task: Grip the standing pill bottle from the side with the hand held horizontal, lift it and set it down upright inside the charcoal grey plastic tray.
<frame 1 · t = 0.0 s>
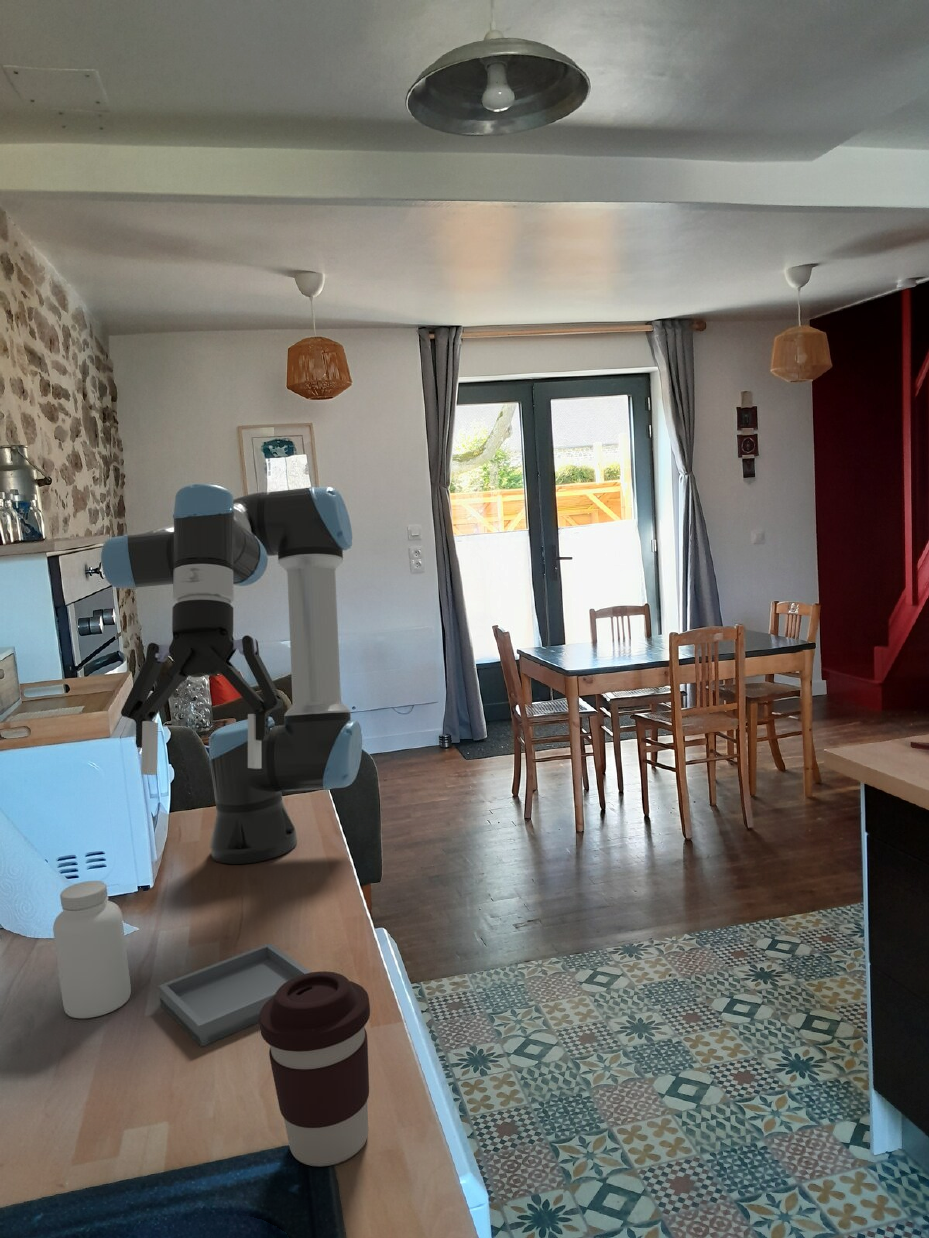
hand: (201, 771, 114), 28 cm above the kitchen counter, tool tilted 20°, fingers open, 13 cm apart
pill bottle: (99, 1004, 116), on the kitchen counter
tray: (239, 1000, 113), on the kitchen counter
coffee cup: (330, 1143, 86), on the kitchen counter
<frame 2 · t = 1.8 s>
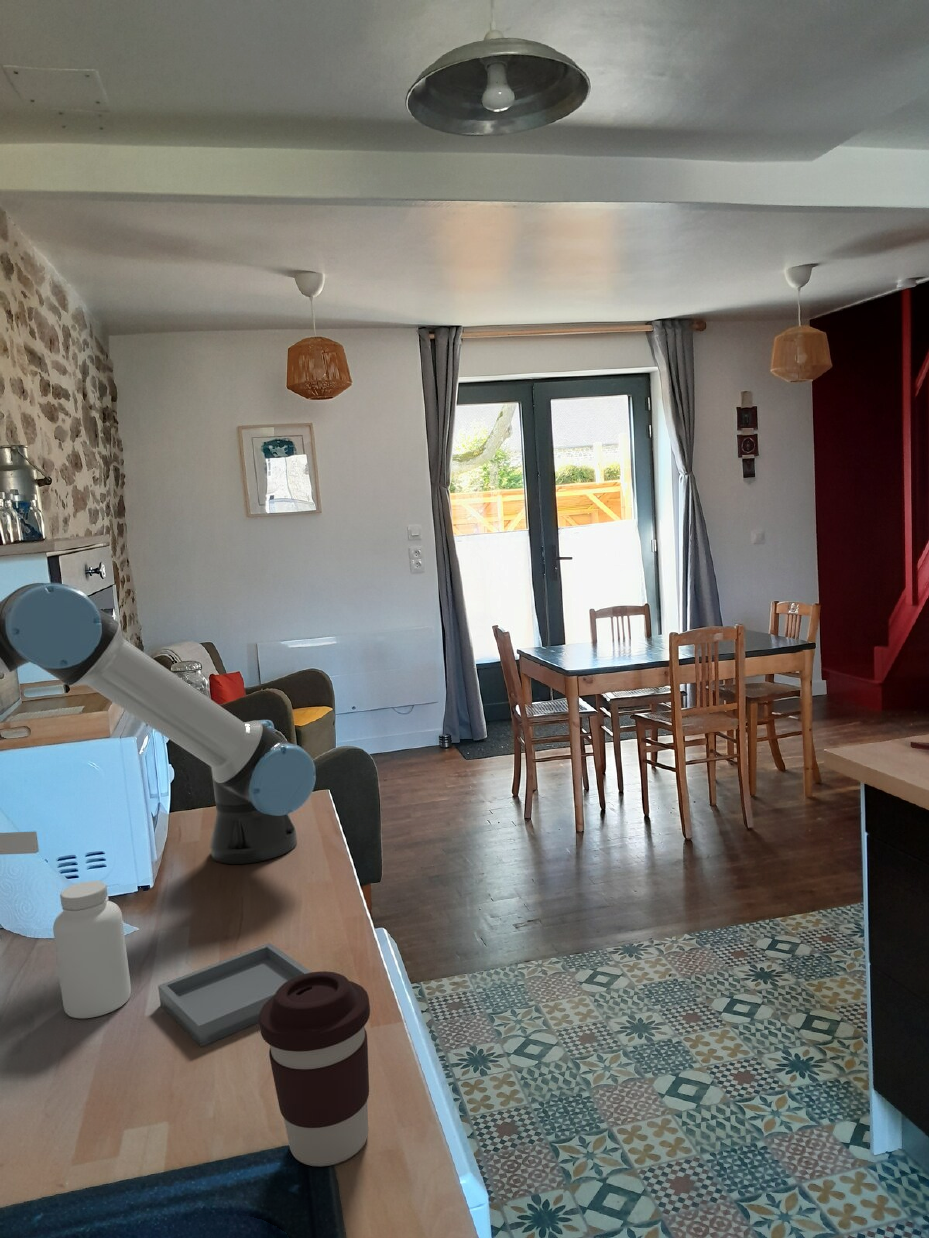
hand: (4, 861, 115), 19 cm above the kitchen counter, tool horizontal, fingers open, 13 cm apart
nothing on the kitchen counter moved.
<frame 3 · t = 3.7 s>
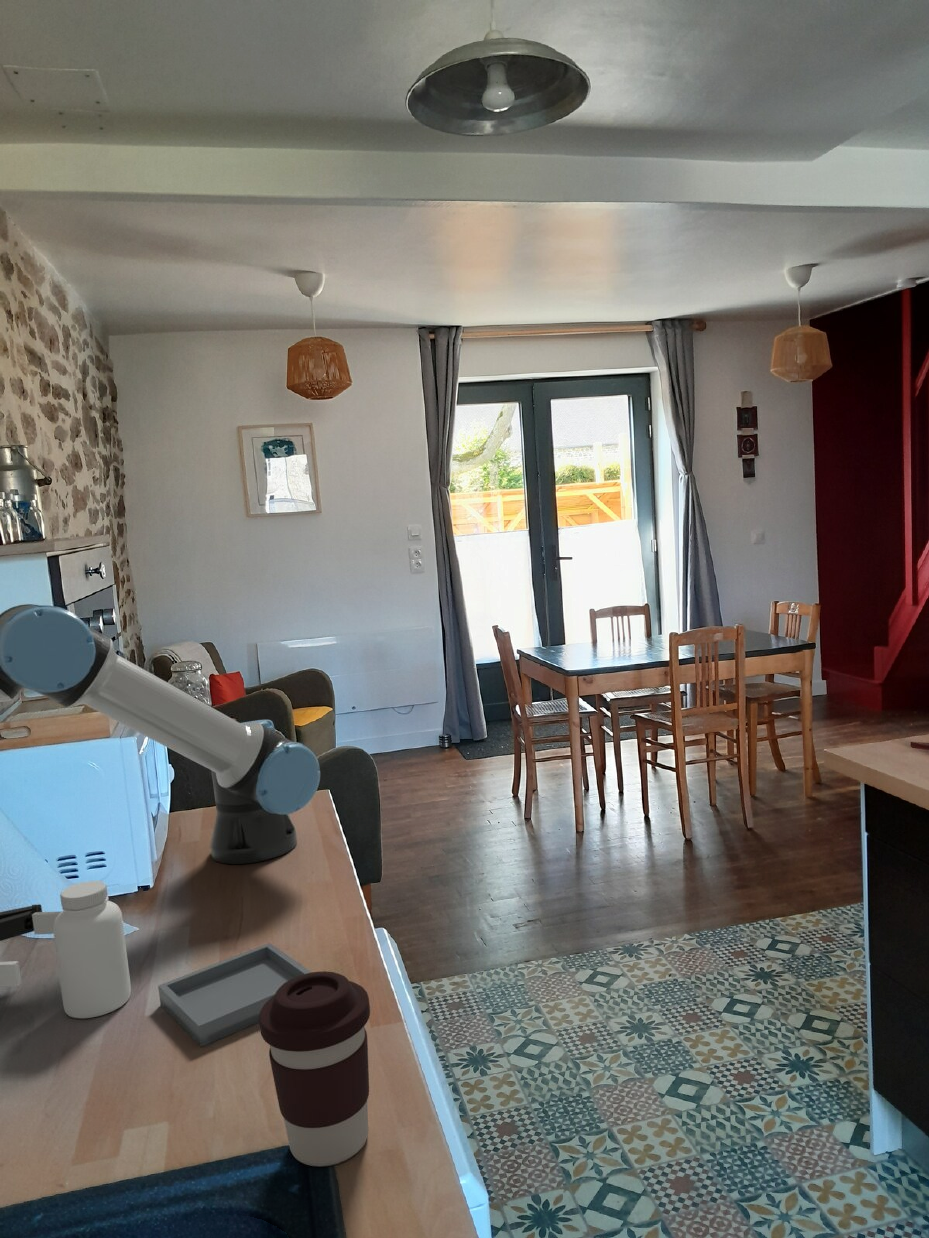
hand: (51, 946, 115), 8 cm above the kitchen counter, tool horizontal, fingers open, 13 cm apart
nothing on the kitchen counter moved.
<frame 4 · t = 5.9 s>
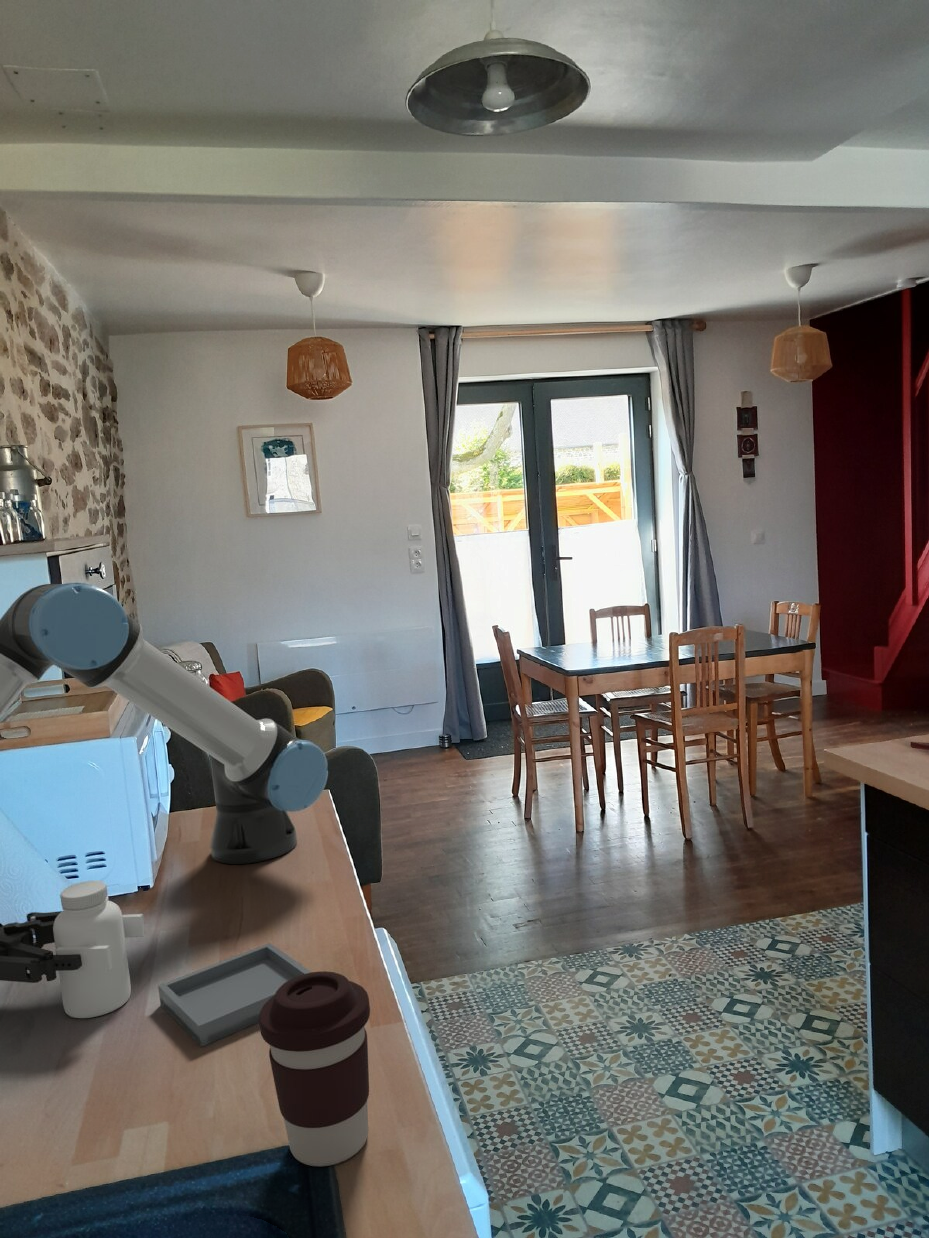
hand: (126, 940, 114), 8 cm above the kitchen counter, tool horizontal, fingers closed on pill bottle, 8 cm apart
pill bottle: (99, 1004, 116), on the kitchen counter, touching gripper
everything else where it was.
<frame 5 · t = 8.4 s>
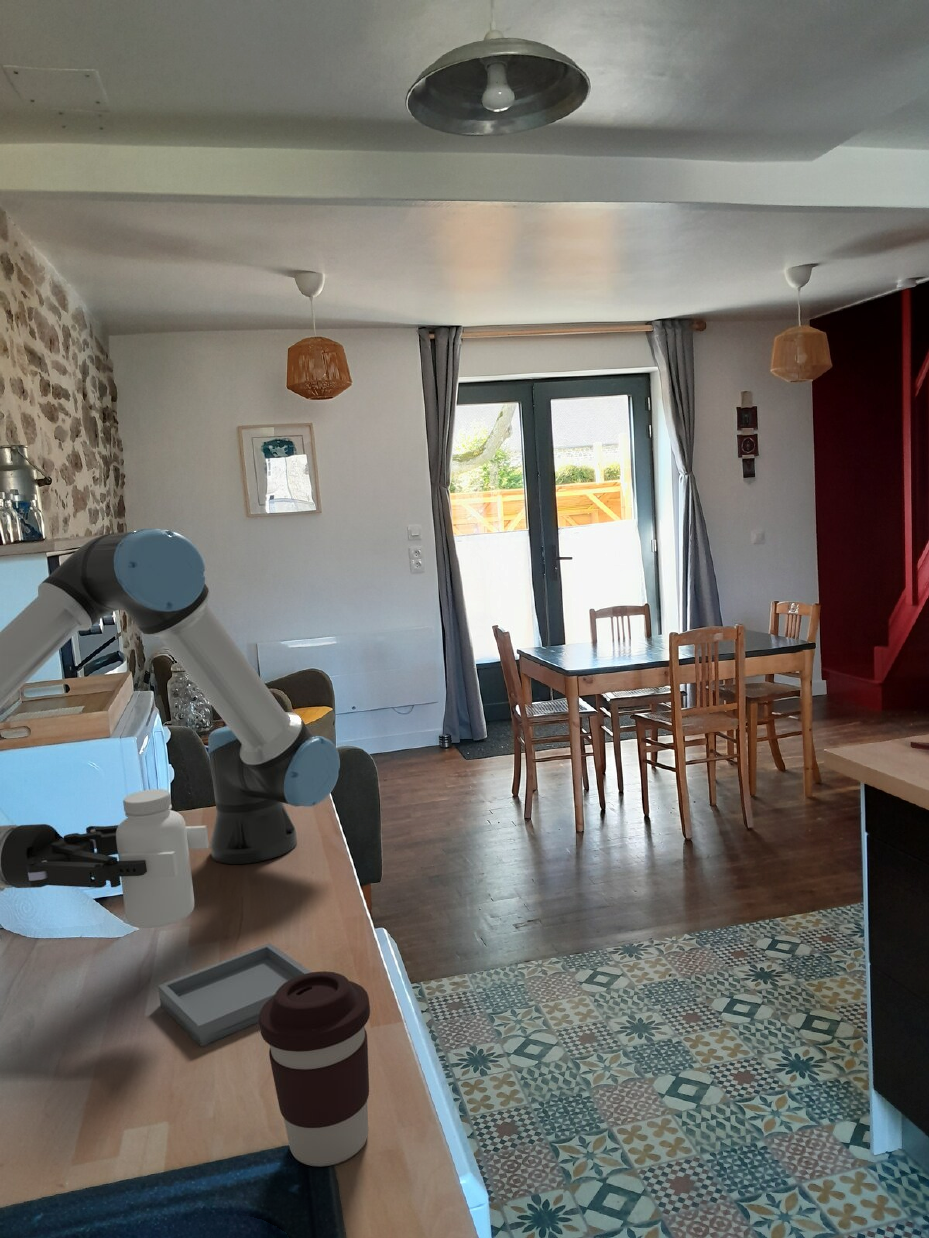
hand: (191, 849, 110), 20 cm above the kitchen counter, tool horizontal, fingers closed on pill bottle, 8 cm apart
pill bottle: (162, 916, 112), point 11 cm above the kitchen counter, touching gripper
everything else where it was.
when the fingers open (10 cm above the kitchen counter, at t = 11.1 s): pill bottle drops 1 cm, resting on tray.
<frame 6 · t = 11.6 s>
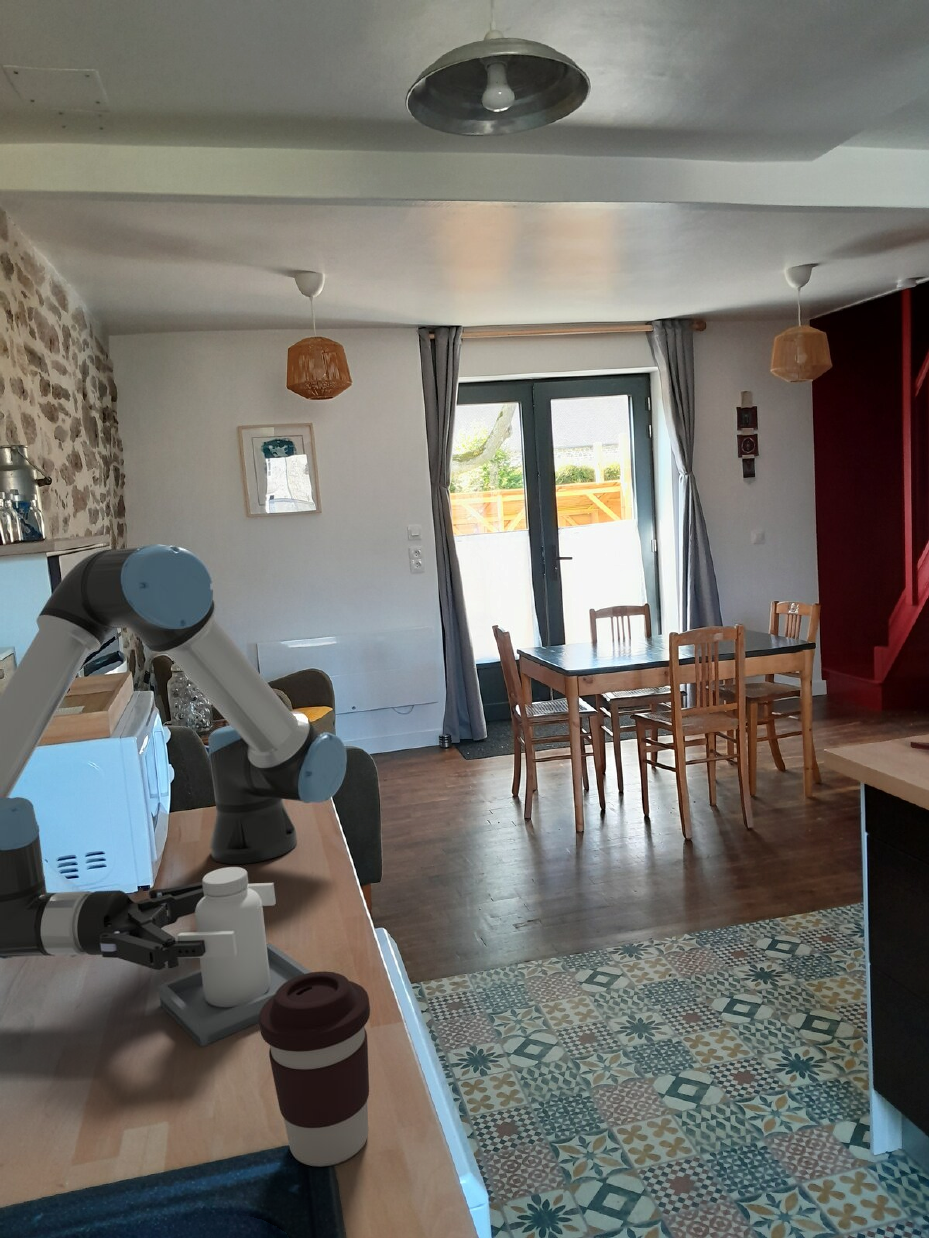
hand: (255, 917, 112), 10 cm above the kitchen counter, tool horizontal, fingers open, 13 cm apart
pill bottle: (238, 993, 113), point 1 cm above the kitchen counter, touching tray
everything else where it was.
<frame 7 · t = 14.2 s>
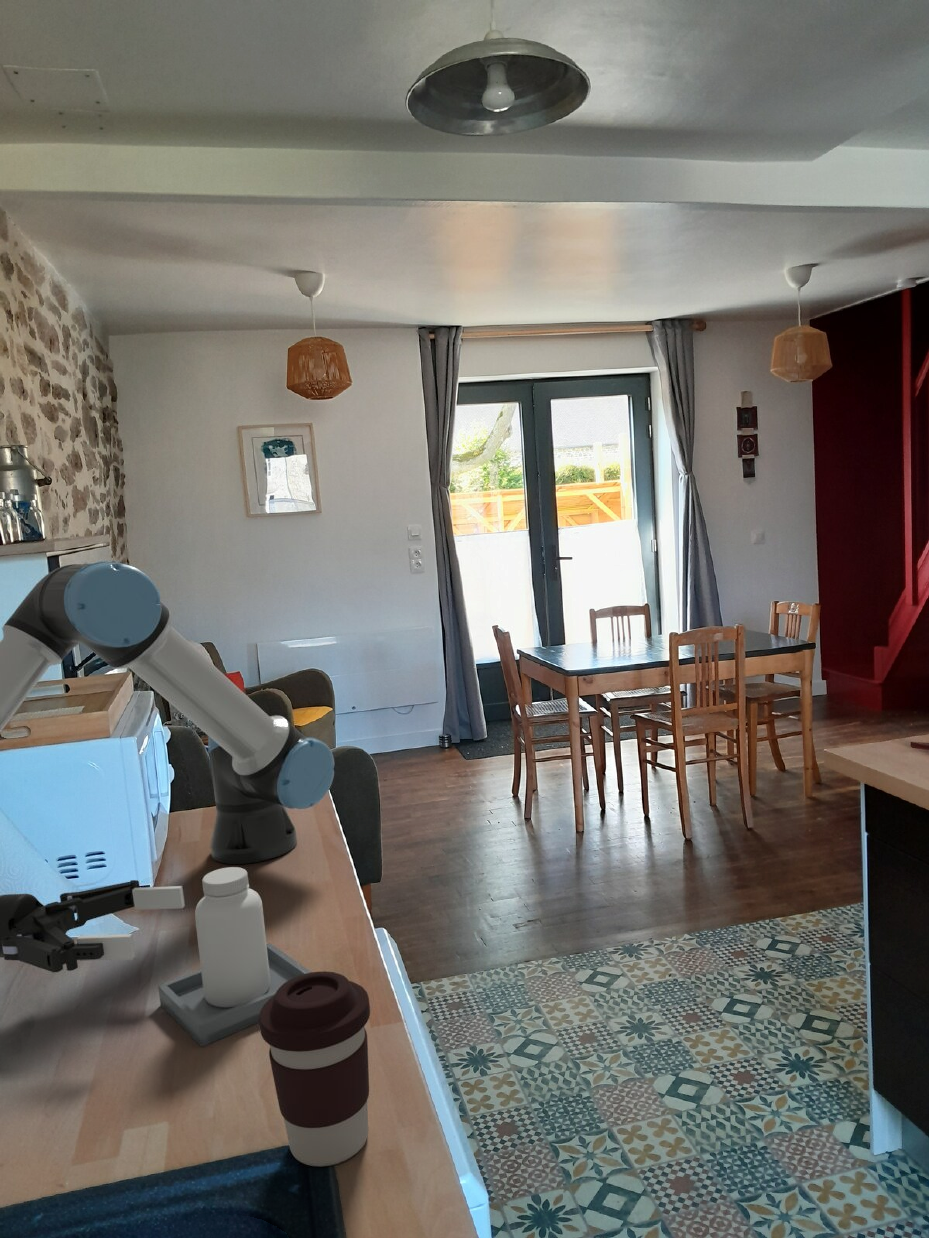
hand: (159, 920, 113), 11 cm above the kitchen counter, tool horizontal, fingers open, 13 cm apart
nothing on the kitchen counter moved.
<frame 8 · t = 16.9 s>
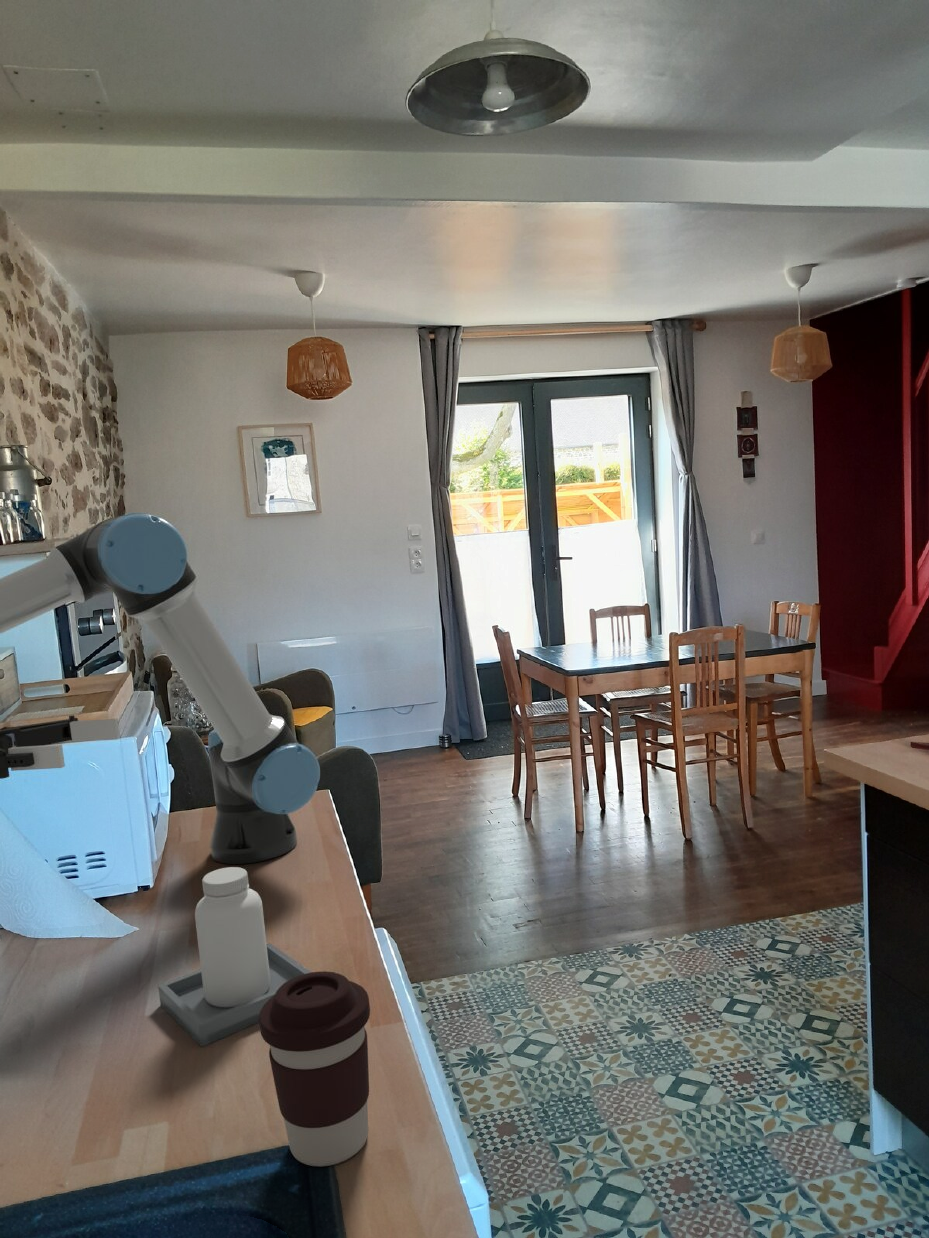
hand: (91, 741, 118), 32 cm above the kitchen counter, tool horizontal, fingers open, 13 cm apart
nothing on the kitchen counter moved.
at the end: pill bottle 0.0 cm off-centre on the tray, point 0.8 cm above the tray's base; pill bottle tilted 0°; the gripper is holding nothing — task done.
